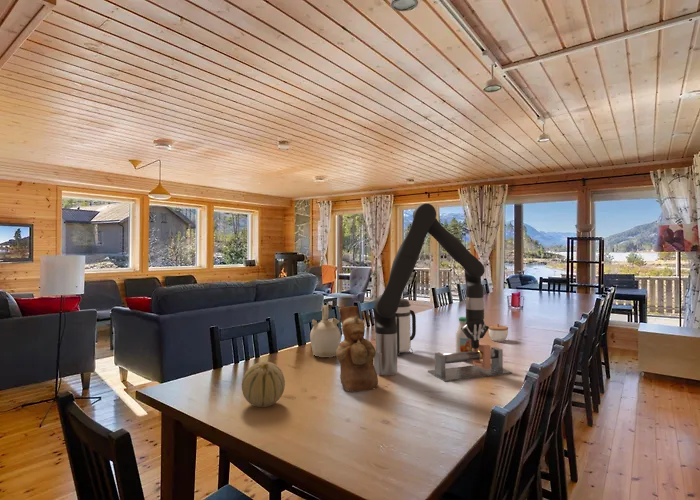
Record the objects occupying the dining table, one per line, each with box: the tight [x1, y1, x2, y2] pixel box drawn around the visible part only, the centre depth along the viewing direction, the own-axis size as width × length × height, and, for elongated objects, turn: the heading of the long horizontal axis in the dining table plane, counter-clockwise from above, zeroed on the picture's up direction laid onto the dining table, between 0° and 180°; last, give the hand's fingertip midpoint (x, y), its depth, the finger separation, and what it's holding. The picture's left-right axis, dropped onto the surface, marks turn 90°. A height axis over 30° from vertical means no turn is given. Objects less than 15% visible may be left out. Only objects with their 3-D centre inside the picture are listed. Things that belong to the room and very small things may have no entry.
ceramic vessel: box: [335, 305, 379, 392], centre depth 164 cm, size 16×22×30 cm
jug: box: [309, 304, 341, 358], centre depth 208 cm, size 15×16×25 cm
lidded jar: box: [487, 323, 509, 343], centre depth 237 cm, size 11×11×9 cm
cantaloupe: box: [241, 361, 286, 408], centre depth 142 cm, size 15×15×15 cm
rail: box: [427, 346, 513, 383], centre depth 176 cm, size 32×14×9 cm, turn 108°
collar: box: [472, 341, 492, 369], centre depth 178 cm, size 3×8×10 cm, turn 18°
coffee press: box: [396, 298, 417, 357], centre depth 212 cm, size 17×16×30 cm
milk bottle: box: [455, 316, 473, 353], centre depth 197 cm, size 8×8×20 cm
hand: (475, 348), depth 177 cm, fingers closed
